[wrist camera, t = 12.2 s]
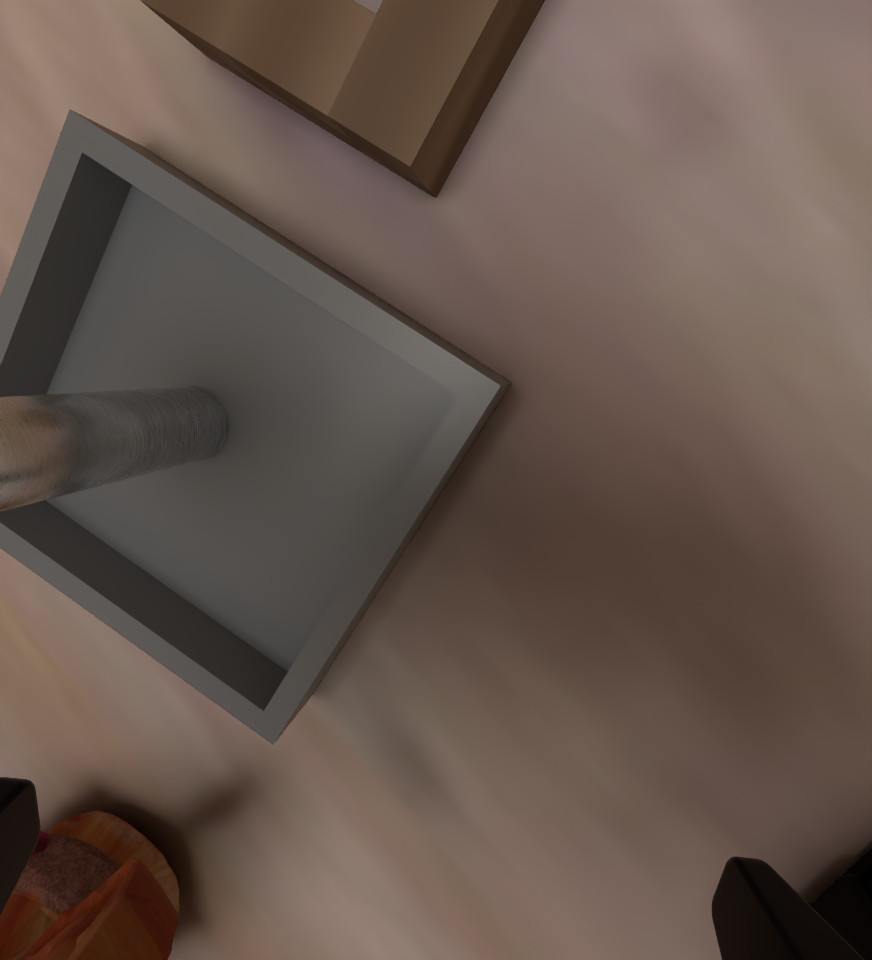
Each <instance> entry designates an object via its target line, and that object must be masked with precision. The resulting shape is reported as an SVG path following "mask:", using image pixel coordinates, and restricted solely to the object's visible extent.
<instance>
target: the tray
mask: <svg viewBox="0 0 872 960" xmlns="http://www.w3.org/2000/svg"><path fill="white" fill-rule="evenodd" d="M511 383H512V382H510V381H509V380H507V379H505V378H504V377H502V376H501V375H499V374H498V373H496V372H494V371H493V370H491V369H490V368H488V367H487V366H485V365H484V364H482V363H480V362H479V361H477V360H476V359H474V358H473V357H471V356H469V355H468V354H466V353H465V352H463V351H462V350H460V349H459V348H457V347H455V346H454V345H452V344H451V343H449V342H448V341H446V340H444V339H443V338H441V337H440V336H438V335H437V334H435V333H433V332H432V331H430V330H429V329H427V328H426V327H424V326H423V325H421V324H419V323H418V322H416V321H415V320H413V319H412V318H410V317H408V316H407V315H405V314H404V313H402V312H401V311H399V310H398V309H396V308H394V307H393V306H391V305H390V304H388V303H387V302H385V301H383V300H382V299H380V298H379V297H377V296H376V295H374V294H373V293H371V292H369V291H368V290H366V289H365V288H363V287H362V286H360V285H358V284H357V283H355V282H354V281H352V280H351V279H349V278H348V277H346V276H344V275H343V274H341V273H340V272H338V271H337V270H335V269H333V268H332V267H330V266H329V265H327V264H326V263H324V262H323V261H321V260H319V259H318V258H316V257H315V256H313V255H312V254H310V253H308V252H307V251H305V250H304V249H302V248H301V247H299V246H298V245H296V244H294V243H293V242H291V241H290V240H288V239H287V238H285V237H283V236H282V235H280V234H279V233H277V232H276V231H274V230H273V229H271V228H269V227H268V226H266V225H265V224H263V223H262V222H260V221H258V220H257V219H255V218H254V217H252V216H251V215H249V214H248V213H246V212H244V211H243V210H241V209H240V208H238V207H237V206H235V205H233V204H232V203H230V202H229V201H227V200H226V199H224V198H223V197H221V196H219V195H218V194H216V193H215V192H213V191H212V190H210V189H208V188H207V187H205V186H204V185H202V184H201V183H199V182H198V181H196V180H194V179H193V178H191V177H190V176H188V175H187V174H185V173H183V172H182V171H180V170H179V169H177V168H176V167H174V166H173V165H171V164H169V163H168V162H166V161H165V160H163V159H162V158H160V157H158V156H157V155H155V154H154V153H152V152H151V151H149V150H148V149H146V148H144V147H143V146H141V145H139V144H137V143H135V142H133V141H131V140H129V139H127V138H125V137H123V136H121V135H119V134H117V133H115V132H113V131H111V130H109V129H107V128H106V127H104V126H102V125H100V124H98V123H96V122H94V121H92V120H90V119H88V118H86V117H84V116H82V115H80V114H78V113H76V112H74V111H72V110H69V113H68V115H67V118H66V121H65V124H64V126H63V129H62V132H61V134H60V137H59V140H58V142H57V145H56V148H55V151H54V153H53V156H52V159H51V161H50V164H49V167H48V169H47V172H46V175H45V178H44V180H43V183H42V186H41V188H40V191H39V194H38V196H37V199H36V202H35V205H34V207H33V210H32V213H31V215H30V218H29V221H28V224H27V226H26V229H25V232H24V234H23V237H22V240H21V242H20V245H19V248H18V251H17V253H16V256H15V259H14V261H13V264H12V267H11V269H10V272H9V275H8V278H7V280H6V283H5V286H4V288H3V291H2V294H1V296H0V397H9V396H27V395H45V394H63V393H81V392H99V391H117V390H135V389H153V388H171V387H189V386H195V387H201V388H204V389H206V390H208V391H210V392H211V393H213V394H214V395H215V396H216V397H217V398H218V399H219V400H220V401H221V403H222V404H223V406H224V408H225V410H226V413H227V416H228V421H229V432H228V437H227V440H226V443H225V444H224V446H223V448H222V449H221V450H220V451H219V452H218V453H217V454H216V455H214V456H212V457H210V458H208V459H204V460H200V461H196V462H192V463H188V464H184V465H181V466H177V467H173V468H169V469H165V470H161V471H157V472H153V473H149V474H145V475H141V476H138V477H134V478H130V479H126V480H122V481H118V482H114V483H110V484H106V485H102V486H99V487H95V488H91V489H87V490H83V491H79V492H75V493H71V494H67V495H63V496H59V497H56V498H52V499H48V500H44V501H40V502H36V503H32V504H28V505H24V506H20V507H17V508H13V509H9V510H5V511H1V512H0V548H1V549H2V550H4V551H5V552H7V553H8V554H9V555H11V556H12V557H13V558H15V559H16V560H18V561H19V562H20V563H22V564H23V565H25V566H26V567H27V568H29V569H30V570H32V571H33V572H34V573H36V574H37V575H38V576H40V577H41V578H43V579H44V580H45V581H47V582H48V583H50V584H51V585H52V586H54V587H55V588H56V589H58V590H59V591H61V592H62V593H63V594H65V595H66V596H68V597H69V598H70V599H72V600H73V601H75V602H76V603H77V604H79V605H80V606H81V607H83V608H84V609H86V610H87V611H88V612H90V613H91V614H93V615H94V616H95V617H97V618H98V619H99V620H101V621H102V622H104V623H105V624H106V625H108V626H109V627H111V628H112V629H113V630H115V631H116V632H118V633H119V634H120V635H122V636H123V637H124V638H126V639H127V640H129V641H130V642H131V643H133V644H134V645H136V646H137V647H138V648H140V649H141V650H142V651H144V652H145V653H147V654H148V655H149V656H151V657H152V658H154V659H155V660H156V661H158V662H159V663H161V664H162V665H163V666H165V667H166V668H167V669H169V670H170V671H172V672H173V673H174V674H176V675H177V676H179V677H180V678H181V679H183V680H184V681H185V682H187V683H188V684H190V685H191V686H192V687H194V688H195V689H197V690H198V691H199V692H201V693H202V694H204V695H205V696H206V697H208V698H209V699H210V700H212V701H213V702H215V703H216V704H217V705H219V706H220V707H222V708H223V709H224V710H226V711H227V712H228V713H230V714H231V715H233V716H234V717H235V718H237V719H238V720H240V721H241V722H242V723H244V724H245V725H247V726H248V727H249V728H251V729H252V730H253V731H255V732H256V733H258V734H259V735H260V736H262V737H263V738H265V739H266V740H267V741H269V742H270V743H271V744H274V743H275V742H276V741H277V739H278V738H279V737H280V735H281V734H282V733H283V732H284V730H285V729H286V728H287V726H288V725H289V724H290V723H291V721H292V720H293V719H294V718H295V716H296V715H297V714H298V712H299V711H300V710H301V709H302V707H303V706H304V705H305V704H306V702H307V701H308V700H309V698H310V697H311V696H312V695H313V693H314V691H315V690H316V688H317V687H318V685H319V684H320V682H321V680H322V679H323V677H324V676H325V674H326V673H327V671H328V669H329V668H330V666H331V665H332V663H333V662H334V660H335V659H336V657H337V655H338V654H339V652H340V651H341V649H342V648H343V646H344V644H345V643H346V641H347V640H348V638H349V637H350V635H351V633H352V632H353V630H354V629H355V627H356V626H357V624H358V622H359V621H360V619H361V618H362V616H363V615H364V613H365V612H366V610H367V608H368V607H369V605H370V604H371V602H372V601H373V599H374V597H375V596H376V594H377V593H378V591H379V590H380V588H381V586H382V585H383V583H384V582H385V580H386V579H387V577H388V575H389V574H390V572H391V571H392V569H393V568H394V566H395V565H396V563H397V561H398V560H399V558H400V557H401V555H402V554H403V552H404V550H405V549H406V547H407V546H408V544H409V543H410V541H411V539H412V538H413V536H414V535H415V533H416V532H417V530H418V529H419V527H420V525H421V524H422V522H423V521H424V519H425V518H426V516H427V514H428V513H429V511H430V510H431V508H432V507H433V505H434V503H435V502H436V500H437V499H438V497H439V496H440V494H441V492H442V491H443V489H444V488H445V486H446V485H447V483H448V482H449V480H450V478H451V477H452V475H453V474H454V472H455V471H456V469H457V467H458V466H459V464H460V463H461V461H462V460H463V458H464V456H465V455H466V453H467V452H468V450H469V449H470V447H471V446H472V444H473V442H474V441H475V439H476V438H477V436H478V435H479V433H480V431H481V430H482V428H483V427H484V425H485V424H486V422H487V420H488V419H489V417H490V416H491V414H492V413H493V411H494V409H495V408H496V406H497V405H498V403H499V402H500V400H501V399H502V397H503V395H504V394H505V392H506V391H507V389H508V388H509V386H510V384H511Z"/></svg>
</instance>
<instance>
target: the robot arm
mask: <svg viewBox="0 0 872 960" xmlns="http://www.w3.org/2000/svg"><path fill="white" fill-rule="evenodd" d="M39 834H40V820H39V812H38V805H37V797H36V790H35V785H34V784H33V783H32V782H31V781H30V780H26V779H17V778H8V777H1V778H0V916H1V914H2V912H3V910H4V908H5V906H6V904H7V902H8V900H9V898H10V896H11V894H12V892H13V890H14V889H15V887H16V885H17V883H18V881H19V879H20V877H21V875H22V873H23V871H24V869H25V867H26V865H27V863H28V861H29V859H30V857H31V855H32V853H33V851H34V849H35V847H36V844H37V842H38V838H39ZM712 918H713V923H714V927H715V931H716V936H717V940H718V944H719V948H720V953H721V957H722V960H872V848H871V849H870V850H869V851H868V852H867V853H866V854H865V855H864V856H863V857H862V858H861V859H860V860H859V861H858V862H856V863H855V864H854V865H853V866H852V867H851V868H850V869H849V870H848V871H847V872H846V873H845V874H844V875H843V876H842V877H841V878H840V879H838V880H837V881H836V882H835V883H834V884H833V885H832V886H831V887H830V888H829V889H828V890H827V891H826V892H825V893H824V894H823V895H821V896H820V897H819V898H818V899H817V900H816V901H815V902H814V903H813V904H812V905H811V906H810V905H809V904H808V903H807V902H806V901H805V900H804V899H803V898H802V897H801V896H800V895H799V894H798V893H797V892H796V891H795V890H794V889H793V888H792V887H791V886H790V885H789V884H788V883H787V882H786V881H785V880H784V879H783V878H782V877H781V876H780V875H779V874H778V873H777V872H776V871H775V870H774V869H773V868H772V867H771V866H769V865H768V864H767V863H766V862H764V861H762V860H759V859H754V858H744V857H732V858H730V859H729V860H728V861H727V863H726V865H725V868H724V871H723V873H722V876H721V878H720V881H719V884H718V886H717V889H716V891H715V894H714V897H713V900H712Z"/></svg>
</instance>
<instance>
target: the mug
mask: <svg viewBox="0 0 872 960" xmlns="http://www.w3.org/2000/svg"><path fill="white" fill-rule="evenodd" d="M179 911H180V909H179V887H178V883H177V878H176V876H175V874H174V872H173V871H172V869H171V867H170V866H169V864H168V863H167V861H166V859H165V858H164V856H163V854H162V853H161V852H160V851H159V850H158V849H157V848H156V847H155V846H154V845H153V844H152V843H151V842H150V841H149V840H148V839H147V838H146V837H145V836H144V835H143V834H141V833H140V832H139V831H137V830H136V829H135V828H134V827H132V826H131V825H130V824H129V823H127V822H126V821H124V820H122V819H120V818H119V817H117V816H115V815H113V814H109V813H105V812H102V811H98V810H95V811H92V812H87V813H82V814H76V815H73V816H71V817H69V818H67V819H64V820H62V821H61V822H59V823H58V824H57V825H55V826H54V827H53V828H52V829H50V830H49V831H48V832H47V833H46V832H43V831H40V834H39V838H38V842H37V844H36V847H35V849H34V851H33V853H32V855H31V857H30V859H29V861H28V863H27V865H26V867H25V869H24V871H23V873H22V875H21V877H20V879H19V881H18V883H17V885H16V887H15V889H14V890H13V892H12V894H11V896H10V898H9V900H8V902H7V904H6V906H5V908H4V910H3V912H2V914H1V916H0V960H167V959H168V957H169V955H170V953H171V949H172V942H173V937H174V933H175V930H176V926H177V922H178V916H179Z"/></svg>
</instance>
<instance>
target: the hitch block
mask: <svg viewBox="0 0 872 960" xmlns="http://www.w3.org/2000/svg"><path fill="white" fill-rule="evenodd" d="M140 1H142V2H143V3H144V4H145V5H146V6H148V7H149V8H150V9H151V10H152V11H153V12H155V13H156V14H157V15H158V16H159V17H161V18H162V19H163V20H164V21H165V22H166V23H168V24H169V25H170V26H171V27H172V28H174V29H175V30H176V31H177V32H178V33H179V34H181V35H182V36H183V37H184V38H185V39H187V40H188V41H189V42H190V43H191V44H193V45H194V46H195V47H196V48H197V49H198V50H200V51H201V52H202V53H203V54H204V55H206V56H207V57H209V58H210V59H212V60H213V61H215V62H217V63H218V64H220V65H222V66H223V67H225V68H226V69H228V70H230V71H231V72H233V73H234V74H236V75H238V76H239V77H241V78H243V79H244V80H246V81H247V82H249V83H251V84H252V85H254V86H255V87H257V88H259V89H260V90H262V91H264V92H265V93H267V94H268V95H270V96H272V97H273V98H275V99H276V100H278V101H280V102H281V103H283V104H285V105H286V106H288V107H289V108H291V109H293V110H294V111H296V112H297V113H299V114H301V115H302V116H304V117H306V118H307V119H309V120H310V121H312V122H314V123H315V124H317V125H318V126H320V127H322V128H323V129H325V130H327V131H328V132H330V133H331V134H333V135H335V136H336V137H338V138H339V139H341V140H343V141H344V142H346V143H348V144H349V145H351V146H352V147H354V148H356V149H357V150H359V151H360V152H362V153H364V154H365V155H367V156H369V157H370V158H372V159H373V160H375V161H377V162H378V163H380V164H381V165H383V166H385V167H386V168H388V169H390V170H391V171H393V172H394V173H396V174H398V175H399V176H401V177H402V178H404V179H406V180H407V181H409V182H411V183H412V184H414V185H415V186H417V187H419V188H420V189H422V190H423V191H425V192H427V193H428V194H430V195H432V196H433V197H435V198H436V197H437V195H438V193H439V191H440V189H441V187H442V186H443V184H444V182H445V180H446V178H447V177H448V175H449V173H450V171H451V169H452V167H453V166H454V164H455V162H456V160H457V158H458V157H459V155H460V153H461V151H462V149H463V148H464V146H465V144H466V142H467V140H468V138H469V137H470V135H471V133H472V131H473V129H474V128H475V126H476V124H477V122H478V120H479V118H480V117H481V115H482V113H483V111H484V109H485V108H486V106H487V104H488V102H489V100H490V98H491V97H492V95H493V93H494V91H495V89H496V88H497V86H498V84H499V82H500V80H501V79H502V77H503V75H504V73H505V71H506V69H507V68H508V66H509V64H510V62H511V60H512V59H513V57H514V55H515V53H516V51H517V49H518V48H519V46H520V44H521V42H522V40H523V39H524V37H525V35H526V33H527V31H528V29H529V28H530V26H531V24H532V22H533V20H534V19H535V17H536V15H537V13H538V11H539V10H540V8H541V6H542V4H543V2H544V0H383V2H382V4H381V6H380V8H379V10H378V12H377V14H375V13H373V12H371V11H370V10H368V9H366V8H365V7H363V6H361V5H360V4H358V3H356V2H354V1H353V0H140Z"/></svg>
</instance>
